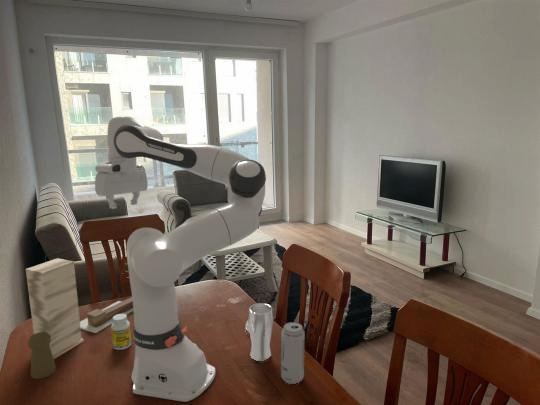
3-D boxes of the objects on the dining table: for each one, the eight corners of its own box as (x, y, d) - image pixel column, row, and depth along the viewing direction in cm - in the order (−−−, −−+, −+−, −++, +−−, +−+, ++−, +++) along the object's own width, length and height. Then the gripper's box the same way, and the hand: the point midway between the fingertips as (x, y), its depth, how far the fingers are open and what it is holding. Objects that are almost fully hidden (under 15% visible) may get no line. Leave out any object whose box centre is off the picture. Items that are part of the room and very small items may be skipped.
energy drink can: (279, 372, 105) (279, 321, 102) (301, 370, 105) (302, 320, 102) (282, 387, 99) (283, 333, 96) (305, 385, 99) (306, 332, 97)
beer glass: (277, 353, 113) (277, 306, 110) (264, 366, 107) (264, 316, 104) (257, 346, 117) (257, 300, 114) (243, 358, 111) (243, 310, 108)
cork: (37, 381, 101) (33, 343, 98) (26, 373, 104) (21, 336, 102) (60, 369, 106) (56, 332, 103) (48, 362, 109) (44, 326, 107)
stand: (83, 341, 119) (75, 261, 114) (53, 359, 110) (43, 273, 105) (64, 335, 123) (55, 257, 118) (32, 352, 113) (22, 269, 108)
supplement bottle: (129, 339, 121) (127, 310, 119) (133, 347, 116) (131, 317, 115) (111, 344, 118) (108, 315, 116) (114, 352, 114) (112, 322, 112)
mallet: (139, 305, 142) (139, 295, 141) (95, 327, 126) (94, 316, 126) (132, 303, 144) (131, 293, 143) (88, 324, 128) (87, 313, 127)
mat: (139, 307, 142) (139, 305, 142) (95, 333, 124) (95, 331, 124) (118, 302, 146) (118, 300, 146) (73, 326, 128) (73, 325, 128)
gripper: (137, 164, 140) (138, 201, 142) (90, 166, 121) (92, 209, 123) (151, 165, 137) (152, 203, 139) (105, 167, 119) (107, 211, 121)
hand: (123, 206), depth 131 cm, fingers open, 8 cm apart
